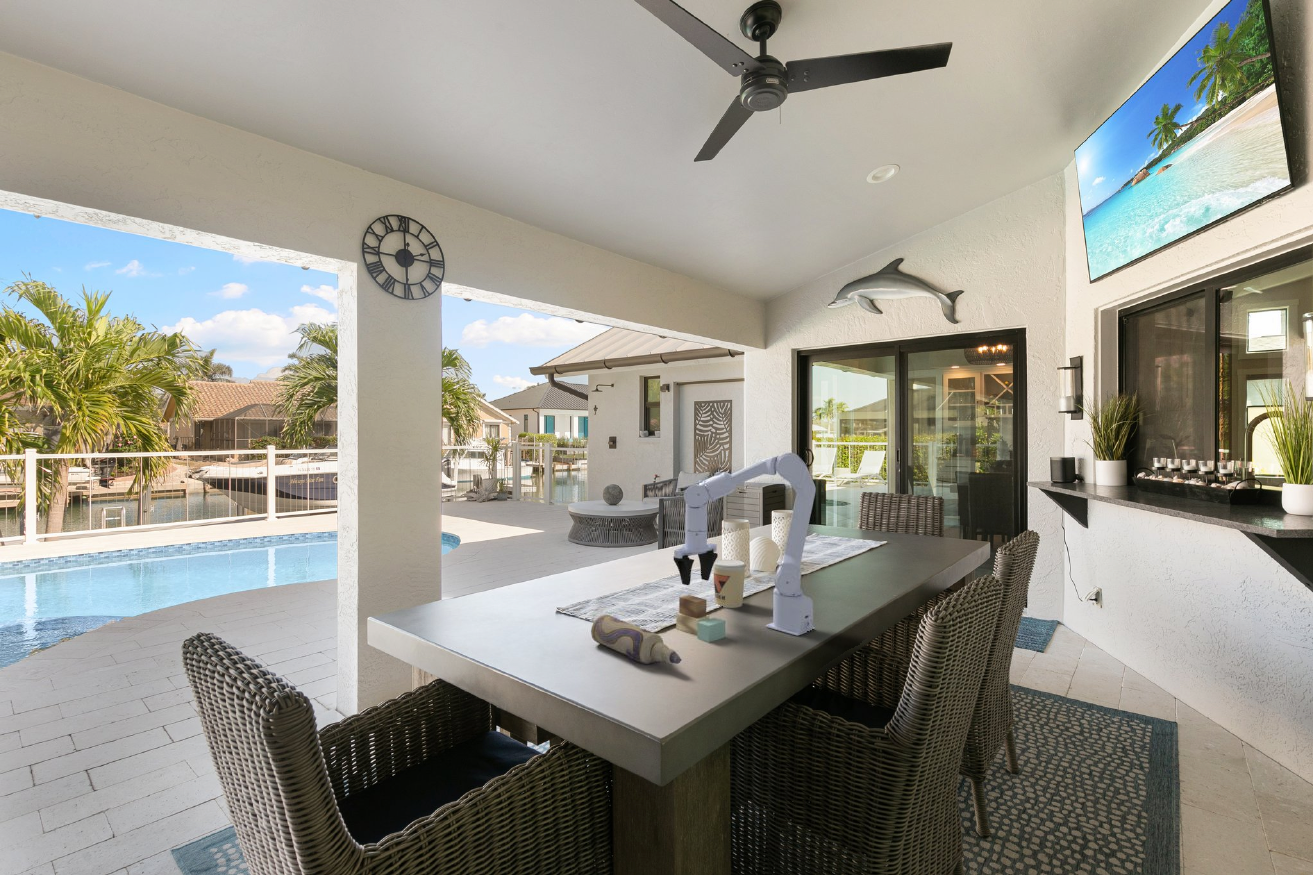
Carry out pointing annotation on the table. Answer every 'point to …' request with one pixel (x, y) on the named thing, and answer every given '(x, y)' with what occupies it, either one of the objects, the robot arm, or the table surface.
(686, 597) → the walnut block
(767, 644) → the table surface
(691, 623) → the maple block
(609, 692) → the table surface
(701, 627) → the teal block
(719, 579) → the coffee cup
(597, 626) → the decorative bottle
